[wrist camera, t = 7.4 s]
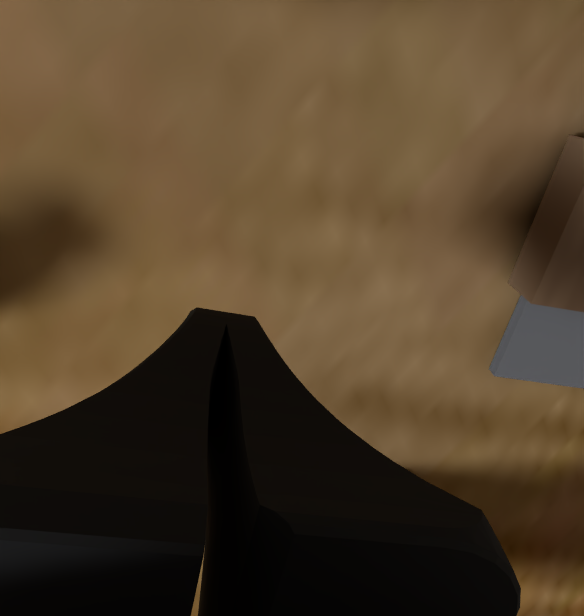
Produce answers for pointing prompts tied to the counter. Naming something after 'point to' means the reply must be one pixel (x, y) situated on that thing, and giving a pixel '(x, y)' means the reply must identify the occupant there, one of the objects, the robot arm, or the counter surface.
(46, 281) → the counter surface
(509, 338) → the mat
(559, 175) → the slab
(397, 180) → the counter surface
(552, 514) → the counter surface
